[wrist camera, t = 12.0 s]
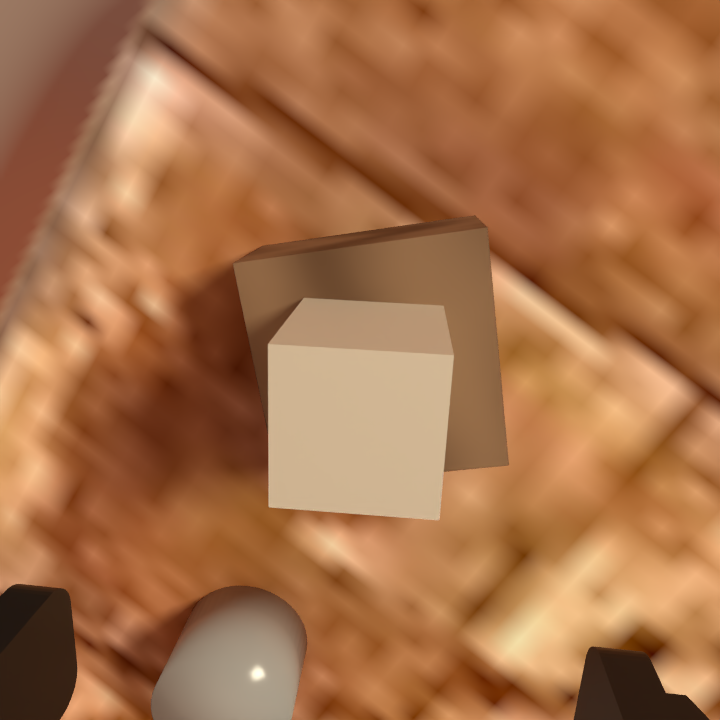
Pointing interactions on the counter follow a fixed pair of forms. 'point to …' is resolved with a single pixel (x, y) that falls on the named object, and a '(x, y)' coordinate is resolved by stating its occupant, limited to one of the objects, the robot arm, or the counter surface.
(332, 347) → the cream block
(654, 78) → the counter surface
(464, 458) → the walnut block
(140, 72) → the counter surface
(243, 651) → the grey rounded capsule
